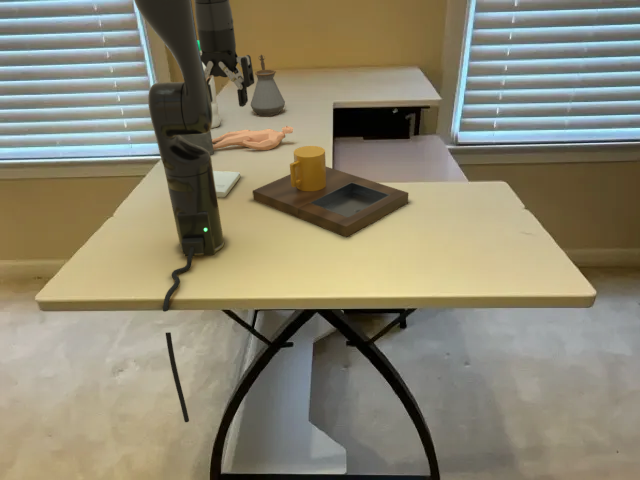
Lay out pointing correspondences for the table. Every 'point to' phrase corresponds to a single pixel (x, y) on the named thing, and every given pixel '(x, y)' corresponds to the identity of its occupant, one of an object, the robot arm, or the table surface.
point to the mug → (308, 168)
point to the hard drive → (225, 181)
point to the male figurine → (252, 138)
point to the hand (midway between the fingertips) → (225, 104)
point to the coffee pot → (266, 93)
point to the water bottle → (214, 103)
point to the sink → (349, 199)
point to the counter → (299, 206)
